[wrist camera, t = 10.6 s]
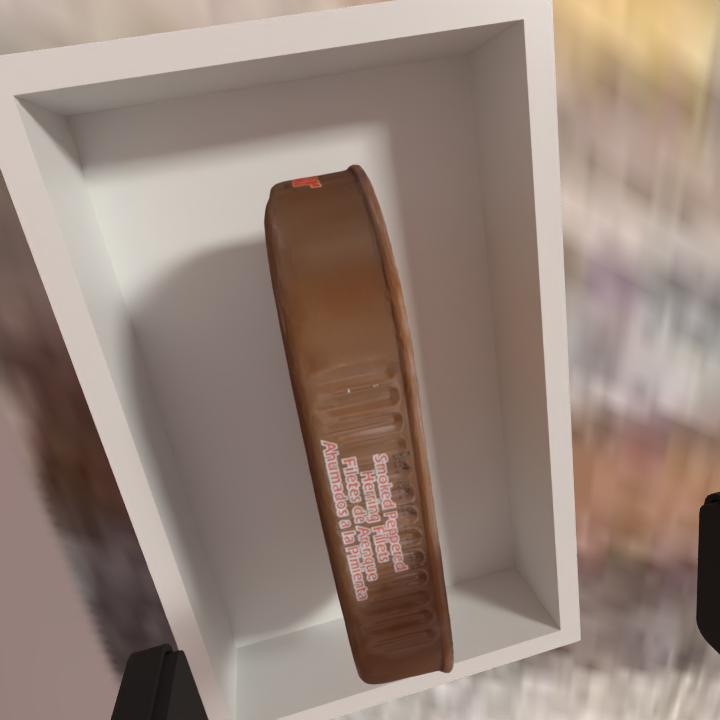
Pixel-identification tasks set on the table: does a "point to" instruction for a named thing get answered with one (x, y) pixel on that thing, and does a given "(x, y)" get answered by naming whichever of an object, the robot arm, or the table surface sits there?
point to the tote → (261, 325)
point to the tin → (360, 419)
